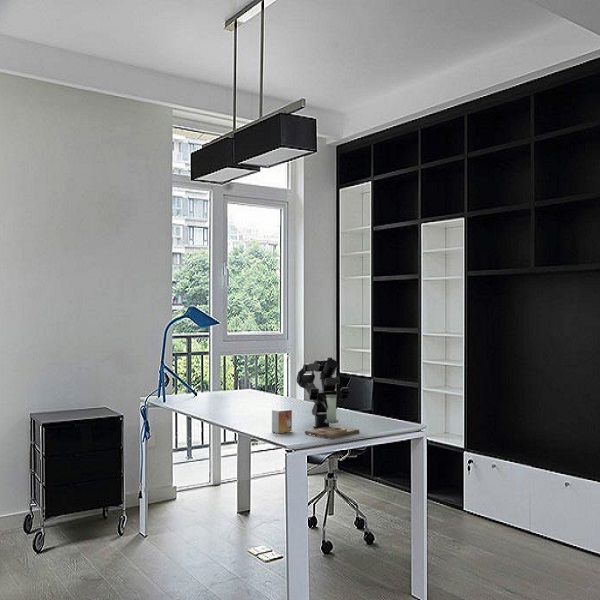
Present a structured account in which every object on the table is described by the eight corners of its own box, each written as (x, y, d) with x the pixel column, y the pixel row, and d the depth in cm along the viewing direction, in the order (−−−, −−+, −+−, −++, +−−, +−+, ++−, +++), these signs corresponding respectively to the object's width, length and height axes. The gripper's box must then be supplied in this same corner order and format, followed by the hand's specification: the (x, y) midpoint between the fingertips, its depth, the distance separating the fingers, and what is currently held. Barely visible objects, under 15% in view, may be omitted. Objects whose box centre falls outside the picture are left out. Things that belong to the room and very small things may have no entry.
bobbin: (323, 423, 311) (323, 396, 310) (325, 420, 317) (325, 394, 317) (337, 423, 309) (337, 396, 309) (339, 421, 316) (339, 394, 316)
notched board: (305, 434, 314) (304, 428, 314) (334, 428, 328) (334, 423, 328) (329, 439, 303) (329, 433, 303) (359, 432, 317) (359, 427, 317)
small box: (278, 434, 315) (278, 411, 315) (271, 432, 320) (271, 409, 320) (292, 432, 320) (292, 409, 320) (285, 430, 324) (285, 408, 324)
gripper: (309, 371, 315) (314, 398, 305) (349, 370, 318) (354, 397, 307) (307, 386, 323) (311, 412, 312) (345, 385, 326) (350, 411, 315)
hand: (332, 408), depth 312 cm, fingers closed on bobbin, 4 cm apart
